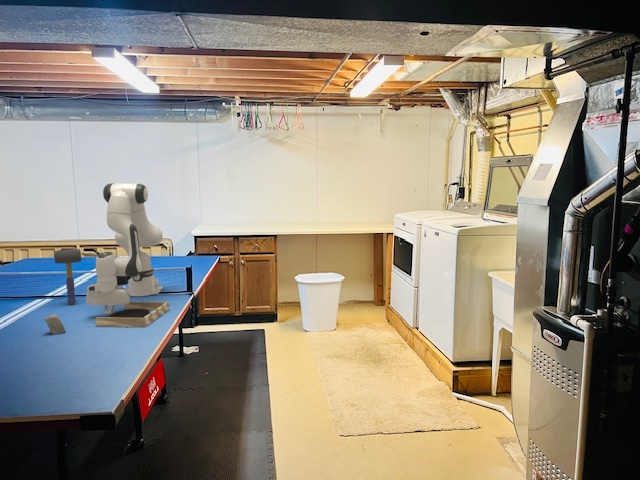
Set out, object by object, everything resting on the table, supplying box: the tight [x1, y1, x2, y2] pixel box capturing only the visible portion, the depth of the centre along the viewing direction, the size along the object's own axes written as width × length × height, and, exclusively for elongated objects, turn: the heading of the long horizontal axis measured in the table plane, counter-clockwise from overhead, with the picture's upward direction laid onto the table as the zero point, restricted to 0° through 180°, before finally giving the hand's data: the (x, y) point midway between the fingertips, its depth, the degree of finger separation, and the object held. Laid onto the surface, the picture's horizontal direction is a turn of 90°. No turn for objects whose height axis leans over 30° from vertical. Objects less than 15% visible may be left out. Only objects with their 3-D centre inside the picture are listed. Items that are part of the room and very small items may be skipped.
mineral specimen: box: [44, 313, 67, 335], centre depth 201 cm, size 7×9×8 cm
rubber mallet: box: [53, 248, 82, 306], centre depth 245 cm, size 12×8×30 cm, turn 115°
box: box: [95, 301, 170, 328], centre depth 222 cm, size 28×23×4 cm
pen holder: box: [116, 276, 129, 286], centre depth 295 cm, size 9×9×10 cm
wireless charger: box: [109, 309, 151, 318], centre depth 222 cm, size 18×18×2 cm
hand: (109, 314), depth 223 cm, fingers closed
